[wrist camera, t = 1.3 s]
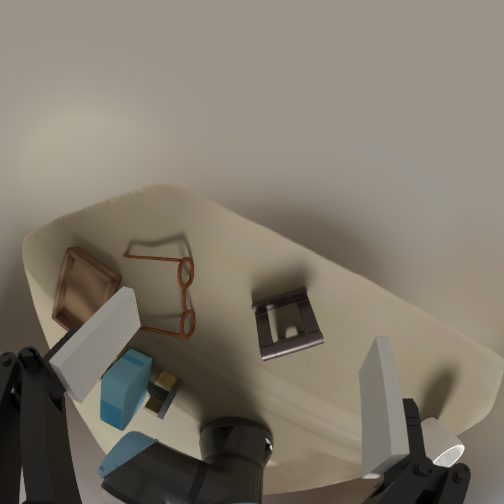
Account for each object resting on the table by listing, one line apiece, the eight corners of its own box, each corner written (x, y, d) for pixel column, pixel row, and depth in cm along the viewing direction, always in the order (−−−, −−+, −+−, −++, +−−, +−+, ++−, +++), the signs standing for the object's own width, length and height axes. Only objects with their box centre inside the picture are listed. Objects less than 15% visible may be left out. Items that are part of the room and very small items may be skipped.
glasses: (196, 331, 45) (188, 343, 40) (129, 323, 46) (116, 333, 41) (194, 255, 44) (185, 259, 39) (124, 252, 45) (109, 256, 40)
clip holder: (168, 407, 47) (162, 419, 44) (101, 366, 47) (91, 375, 43) (182, 380, 46) (176, 392, 42) (109, 336, 46) (99, 344, 42)
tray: (100, 344, 47) (92, 350, 44) (60, 313, 47) (51, 318, 44) (121, 276, 45) (113, 280, 42) (76, 246, 45) (67, 248, 42)
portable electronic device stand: (305, 285, 43) (313, 301, 35) (318, 328, 44) (327, 351, 35) (252, 302, 44) (248, 321, 35) (267, 344, 44) (266, 370, 36)
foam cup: (439, 405, 44) (464, 437, 31) (442, 426, 45) (464, 456, 32) (405, 427, 45) (425, 463, 32) (410, 445, 46) (428, 479, 33)
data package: (132, 345, 46) (101, 376, 34) (154, 355, 46) (125, 389, 34) (126, 390, 48) (99, 422, 36) (145, 399, 48) (121, 434, 36)
